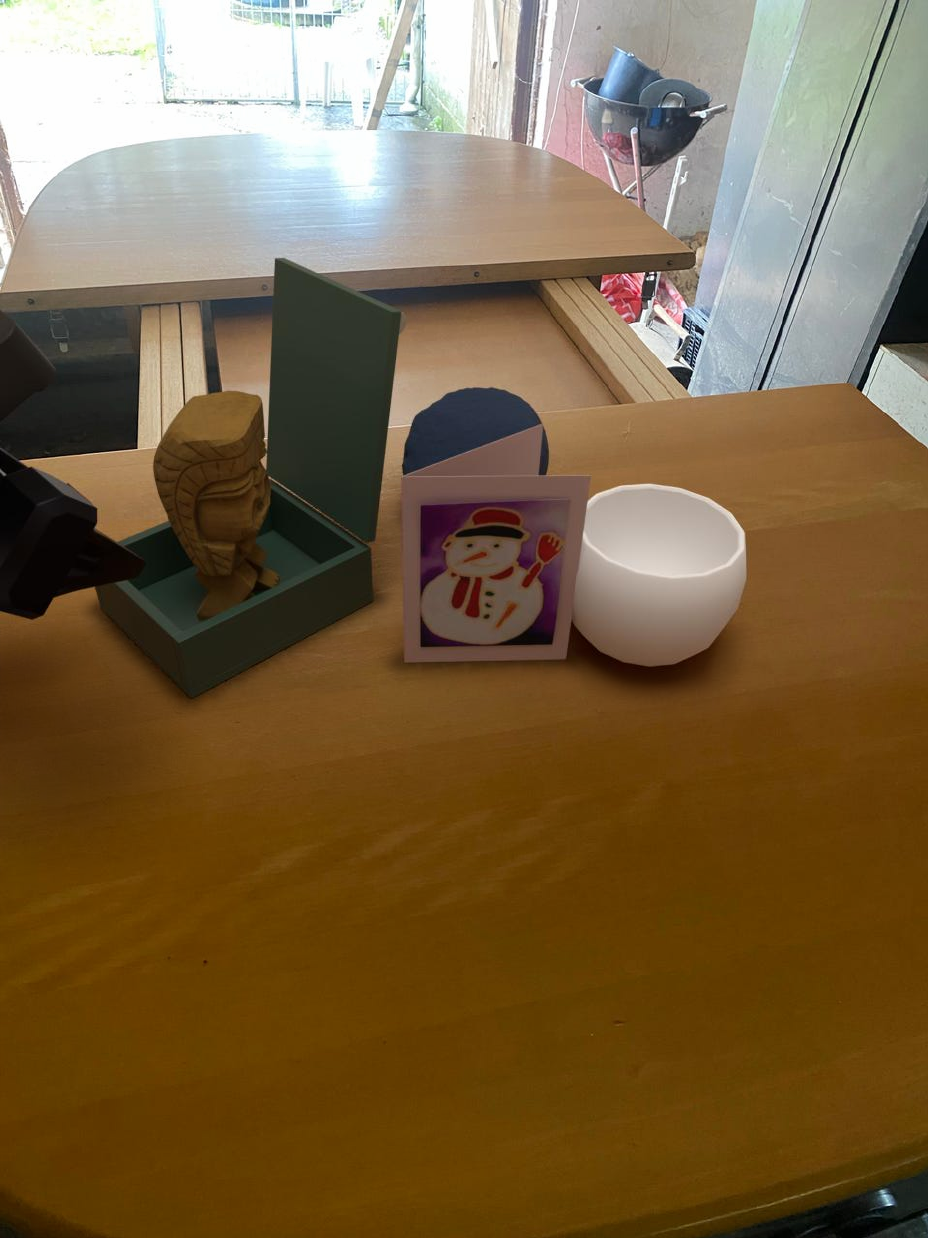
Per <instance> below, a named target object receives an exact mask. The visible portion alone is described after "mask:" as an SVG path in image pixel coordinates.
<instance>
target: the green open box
mask: <svg viewBox="0 0 928 1238" xmlns="http://www.w3.org/2000/svg"><path fill="white" fill-rule="evenodd" d="M269 480H270V483H271V495H270V505H269V507H268V512H267V515H266V517H265V520H264V522H263V523H262V526H261V528H260V530H259V533H258V535H257V537H256V539H255V543H256V544H258V545H259V546H260V547H261V548H263V549H264V550H265V551H266V552H267V555H266V558H265V560H264V562H263V566H264V567H266V568H268V569H270V570H272V571H274V572H276V573H277V574H279V577H280V578H279V584H278V585H277V586H275V587H273V588H271V589H269V590H267V591H258V590H252V591H251V593H253V594H254V595H255V597H253V598H251V599H249V600H247V601H245V602H242V603H240V604H238V605H236V606H234V607H232V608H230V609H228V610H226V611H224V612H222V613H220V614H218V615H216V616H214V617H212V618H210V619H208V620H199V619H198V617H197V615H196V614H197V612H198V609H199V607H200V605H201V603H202V601H203V599H204V598H205V597H206V595H207V594H208V593H209V591H208V590H207V589H206V588H205V587H204V586H203V585H202V583H201V582H200V581H199V580H198V579H197V578H196V577H195V573H196V571H197V569H198V568H197V567H196V566H195V565H194V564H193V562H192V561H191V560H190V558H189V556H188V555H187V553H186V551H185V550H184V548H183V546H182V545H181V543H180V541H179V539H178V537H177V535H176V534H175V532H174V530H173V528H172V526H171V524H170V522H169V520H167V521H165V522H162V523H159V524H157V525H155V526H152V527H149V528H147V529H145V530H142V531H140V532H138V533H135V534H133V535H131V536H128V537H126V538H122V539H121V540H118V541H117V542H118V543H119V544H121V545H122V546H124V547H125V548H127V549H129V550H130V551H132V552H133V553H135V554H136V555H138V556H139V557H141V558H142V559H143V560H145V562H146V565H145V567H144V568H143V570H142V572H141V574H140V575H139V577H137V578H135V579H130V580H125V581H121V582H116V583H111V584H106V585H101V586H97V587H94V589H95V593H96V597H97V600H98V603H99V607H100V610H101V611H102V612H103V613H104V614H105V615H106V616H107V617H108V618H109V619H110V620H111V621H112V622H113V623H114V624H115V625H116V626H117V627H118V628H119V629H120V630H121V631H122V632H123V633H124V634H125V635H126V636H127V637H128V638H129V639H130V640H132V641H133V642H134V644H135V645H137V646H138V648H139V649H141V651H143V653H144V654H145V655H147V656H148V657H149V658H150V660H151V661H153V663H154V664H156V665H157V666H158V667H159V668H160V669H161V670H162V671H163V672H164V673H165V674H166V676H168V678H170V680H172V681H173V682H174V683H175V685H176V686H178V687H179V689H181V690H182V691H183V692H184V694H185V695H187V697H189V698H190V699H193V698H196V697H198V696H199V695H201V694H204V693H205V692H207V691H208V690H210V689H212V688H214V687H216V686H218V685H220V684H221V683H223V682H225V681H227V680H229V679H231V678H233V677H235V676H236V675H239V674H240V673H242V672H244V671H246V670H248V669H250V668H252V667H254V666H255V665H257V664H259V663H261V662H262V661H264V660H267V659H268V658H270V657H272V656H274V655H276V654H278V653H280V652H281V651H283V650H285V649H286V648H289V647H290V646H292V645H294V644H296V643H298V642H300V641H302V640H304V639H305V638H307V637H309V636H311V635H313V634H315V633H316V632H318V631H320V630H322V629H324V628H326V627H328V626H330V625H332V624H334V623H336V622H337V621H339V620H341V619H342V618H345V617H346V616H349V615H350V614H352V613H355V612H356V611H358V610H360V609H361V608H363V607H365V606H367V605H369V604H372V602H373V603H374V586H373V585H374V583H373V561H372V559H373V558H372V547H371V546H370V545H368V543H366V542H364V541H363V540H362V539H360V538H359V537H357V536H356V535H354V534H353V533H351V532H350V531H348V530H347V529H345V528H344V527H343V526H341V525H340V524H338V523H337V522H335V521H334V520H332V519H331V518H329V517H328V516H326V515H325V514H324V513H322V512H321V511H319V510H318V509H316V508H315V507H313V506H312V505H310V504H309V503H307V502H306V501H305V500H303V499H302V498H300V497H299V496H297V495H296V494H294V493H293V492H291V491H290V490H288V489H287V488H286V487H284V486H283V485H281V484H280V483H278V482H277V481H275V480H274V479H272V478H269Z"/></svg>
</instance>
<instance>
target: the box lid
mask: <svg viewBox="0 0 928 1238" xmlns="http://www.w3.org/2000/svg"><path fill="white" fill-rule="evenodd" d="M273 269H274V270H273V293H272V317H271V318H272V319H271V320H272V321H271V342H270V369H269V389H268V391H269V393H268V415H267V416H268V417H267V419H268V420H267V439H266V449H267V453H266V464H265V465H266V467H265V469H266V471H267V473H268V477H269V478H270V479H272V480H273V481H274V482H276V483H278V484H279V485H281V486H282V487H283V488H285V489H286V490H288V491H289V492H291V493H292V494H294V495H295V496H297V497H298V498H300V499H301V500H302V501H304V502H305V503H307V504H308V505H310V506H311V507H313V508H314V509H316V510H317V511H318V512H320V513H321V514H323V515H324V516H326V517H327V518H329V519H330V520H332V521H333V522H334V523H336V524H337V525H339V526H340V527H342V528H343V529H345V530H346V531H348V532H349V533H351V534H352V535H353V536H355V537H356V538H358V539H359V540H361V541H362V542H364V543H365V544H369V543H372V542H374V541H376V538H377V537H376V536H377V529H378V527H377V526H378V519H379V512H380V511H379V510H380V501H381V494H382V484H383V476H384V467H385V459H386V451H387V441H388V434H389V433H388V432H389V424H390V416H391V407H392V399H393V390H394V381H395V374H396V373H395V371H396V363H397V355H398V347H399V339H400V334H402V332H403V331H404V330H405V328H406V326H407V317H406V314H405V313H404V312H403V311H402V310H400V309H398V308H396V307H393V306H392V305H389V304H387V303H385V302H382V301H380V300H378V299H375V298H373V297H372V296H369V295H367V294H364V293H363V292H360V291H358V290H356V289H353V288H352V287H349V286H347V285H345V284H343V283H340V282H338V281H336V280H334V279H331V278H329V277H327V276H325V275H323V274H321V273H318V272H316V271H314V270H312V269H310V268H307V267H305V266H303V265H301V264H298V263H297V262H294V261H293V260H290V259H287V258H285V257H275V258H274V268H273Z"/></svg>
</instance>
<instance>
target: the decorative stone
mask: <svg viewBox="0 0 928 1238" xmlns="http://www.w3.org/2000/svg"><path fill="white" fill-rule="evenodd" d="M540 424H543V422H542V419H541V418H540V416H539V414H538V413H537V411H536V410H535V408H533V407H532V406H531V404H530V403H528V402H527V401H526V400H525V399H523V398H522V397H521V396H519V395H516V394H515V393H512V392H511V391H508V390H505V389H502V388H501V389H500V388H496V387H493V386H489V387H477V386H476V387H475V386H474V387H465V388H459V389H457V390H454V391H449V392H446V393H445V394H444V395H443V396H442V397H441V398H440V399H438V400H436V401H435V402H433V403H431V404H430V405H429V406H428V407H427V408H424V409H422V410H420V411H419V412H418V413H416V414H415V415H414V417H413V419H412V422H411V425H410V428H409V431H408V435H407V437H406V440H405V443H404V448H403V456H402V457H403V459H402V464H401V472H402V476H404V475H407V474H409V473H412V472H415V471H417V470H420V469H423V468H425V467H428V466H431V465H433V464H436V463H439V462H442V461H444V460H447V459H450V458H452V457H455V456H458V455H460V454H463V453H466V452H468V451H471V450H474V449H476V448H479V447H482V446H484V445H487V444H490V443H492V442H495V441H498V440H500V439H503V438H506V437H508V436H511V435H514V434H516V433H519V432H522V431H524V430H527V429H530V428H532V427H535V426H538V425H540ZM549 462H550V448H549V441H548V435H547V433H546V429H545V426H544V425H543V433H542V443H541V454H540V464H539V475H538V476H547V472H548V468H549Z"/></svg>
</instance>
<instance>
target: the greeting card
mask: <svg viewBox="0 0 928 1238" xmlns="http://www.w3.org/2000/svg"><path fill="white" fill-rule="evenodd" d="M543 426H544V423H542V424H540V425H538V426H535V427H532V428H530V429H527V430H524V431H522V432H519V433H516V434H514V435H511V436H508V437H506V438H503V439H500V440H498V441H495V442H492V443H490V444H487V445H484V446H482V447H479V448H476V449H474V450H471V451H468V452H466V453H463V454H460V455H458V456H455V457H452V458H450V459H447V460H444V461H442V462H439V463H436V464H433V465H431V466H428V467H425V468H423V469H420V470H417V471H415V472H412V473H409V474H407V475H404V476H403V475H402V476H400V478H401V479H400V480H401V482H400V483H401V484H400V485H401V486H400V487H401V534H402V535H401V540H402V541H401V545H402V547H401V548H402V549H401V551H402V601H403V602H402V607H403V608H402V609H403V610H402V611H403V614H402V615H403V660H404V661H403V663H405V664H406V663H407V664H408V663H409V664H410V663H449V662H450V663H453V662H455V663H457V662H499V661H546V660H550V661H551V660H567V655H568V648H569V642H570V641H569V640H570V633H571V625H572V612H573V598H574V590H575V583H576V575H577V573H578V568H579V560H580V553H581V546H582V538H583V531H584V524H585V516H586V509H587V502H588V501H589V493H590V486H591V480H592V475H590V474H583V475H581V474H579V475H578V474H575V475H573V474H571V475H570V474H569V475H567V474H565V475H561V474H560V475H559V474H558V475H556V474H554V475H551V474H550V475H546V476H538V475H539V464H540V454H541V443H542V433H543Z"/></svg>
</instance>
